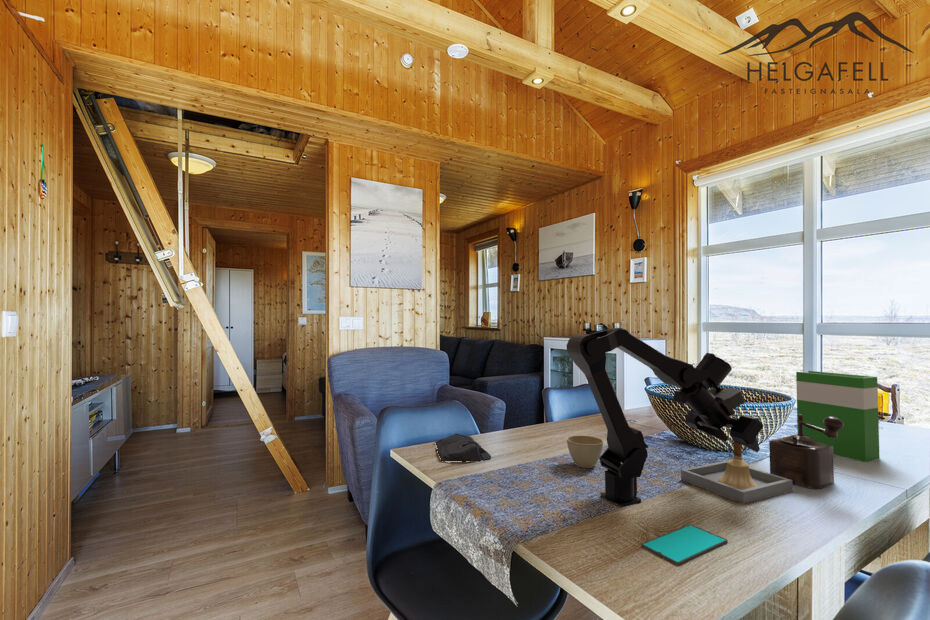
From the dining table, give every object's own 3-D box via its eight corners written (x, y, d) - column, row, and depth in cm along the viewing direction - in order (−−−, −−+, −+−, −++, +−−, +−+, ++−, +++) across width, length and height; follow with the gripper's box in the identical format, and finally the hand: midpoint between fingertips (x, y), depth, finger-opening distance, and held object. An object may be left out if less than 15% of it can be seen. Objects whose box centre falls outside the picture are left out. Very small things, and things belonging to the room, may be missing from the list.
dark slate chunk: (476, 442, 147) (476, 428, 147) (493, 462, 125) (493, 446, 125) (431, 444, 144) (431, 430, 144) (441, 466, 122) (441, 449, 122)
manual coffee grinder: (766, 477, 112) (765, 407, 112) (788, 470, 117) (786, 403, 118) (841, 498, 98) (839, 419, 99) (861, 489, 104) (859, 414, 104)
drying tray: (743, 503, 96) (743, 492, 96) (681, 479, 110) (680, 469, 110) (792, 490, 103) (792, 480, 103) (728, 469, 118) (727, 460, 118)
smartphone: (728, 539, 79) (678, 563, 71) (728, 544, 79) (678, 568, 71) (689, 523, 85) (640, 543, 78) (690, 528, 85) (640, 548, 78)
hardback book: (797, 445, 140) (796, 371, 141) (811, 443, 143) (809, 370, 144) (865, 462, 124) (863, 378, 124) (879, 458, 127) (877, 376, 127)
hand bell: (766, 491, 101) (765, 423, 101) (729, 491, 101) (728, 422, 102) (745, 479, 109) (744, 415, 109) (711, 478, 109) (710, 415, 110)
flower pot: (605, 472, 116) (605, 445, 116) (567, 469, 118) (567, 443, 118) (601, 460, 125) (601, 435, 126) (566, 458, 127) (566, 434, 128)
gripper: (755, 382, 96) (796, 429, 98) (693, 373, 114) (729, 413, 117) (726, 420, 94) (769, 467, 96) (668, 404, 112) (705, 444, 115)
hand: (741, 445), depth 106 cm, fingers open, 9 cm apart
